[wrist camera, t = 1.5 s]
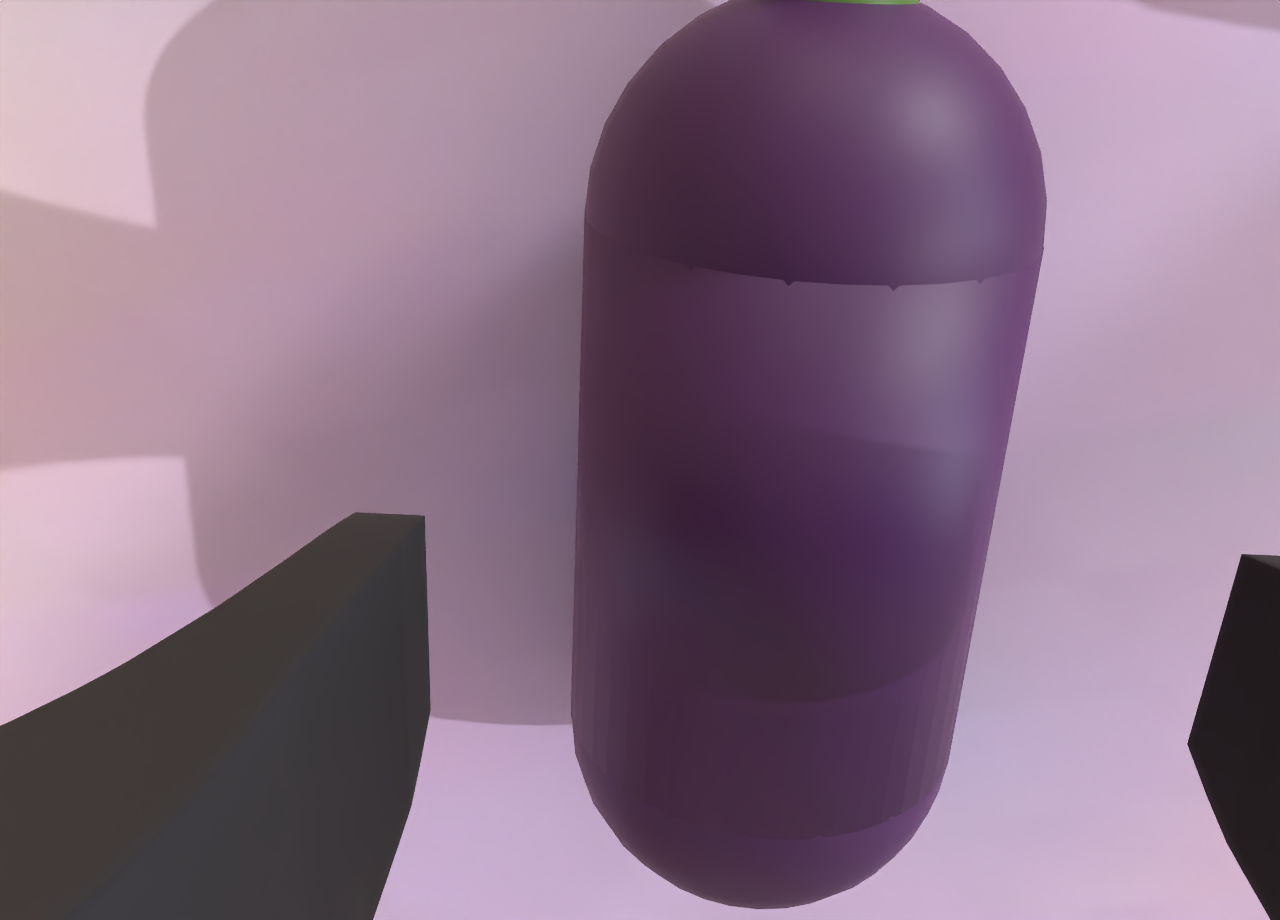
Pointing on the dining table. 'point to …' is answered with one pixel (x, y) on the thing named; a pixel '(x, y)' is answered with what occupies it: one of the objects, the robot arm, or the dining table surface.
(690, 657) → the eggplant
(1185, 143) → the dining table surface
